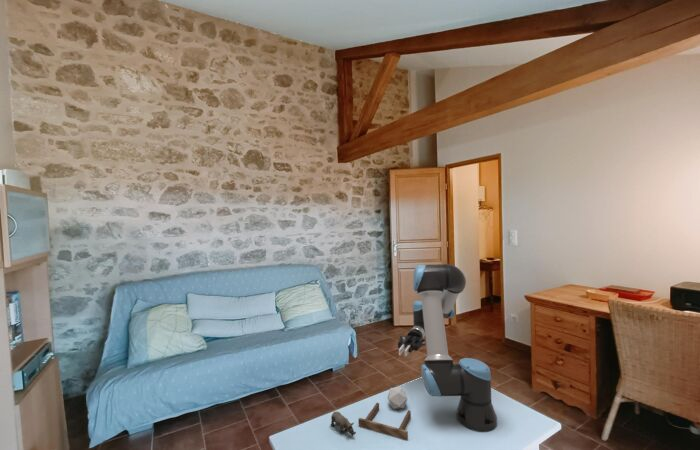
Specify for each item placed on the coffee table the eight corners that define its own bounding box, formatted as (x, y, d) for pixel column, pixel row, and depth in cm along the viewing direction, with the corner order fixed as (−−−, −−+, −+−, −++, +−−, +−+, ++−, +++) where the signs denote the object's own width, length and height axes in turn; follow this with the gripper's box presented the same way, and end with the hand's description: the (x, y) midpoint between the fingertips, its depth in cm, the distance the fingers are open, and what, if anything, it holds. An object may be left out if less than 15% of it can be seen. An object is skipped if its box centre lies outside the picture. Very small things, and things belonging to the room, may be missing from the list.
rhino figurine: (351, 443, 118) (350, 427, 118) (328, 426, 128) (328, 411, 128) (359, 437, 121) (359, 422, 120) (336, 421, 131) (336, 407, 131)
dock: (416, 419, 130) (416, 412, 130) (407, 440, 118) (406, 432, 118) (371, 408, 139) (371, 401, 139) (358, 426, 127) (358, 419, 127)
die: (402, 416, 133) (412, 394, 136) (384, 405, 135) (394, 383, 138) (399, 412, 141) (409, 391, 144) (382, 401, 143) (392, 380, 145)
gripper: (430, 344, 165) (419, 363, 144) (402, 340, 172) (387, 358, 151) (430, 330, 165) (418, 347, 144) (401, 326, 172) (386, 342, 151)
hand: (402, 352), depth 148 cm, fingers open, 2 cm apart
